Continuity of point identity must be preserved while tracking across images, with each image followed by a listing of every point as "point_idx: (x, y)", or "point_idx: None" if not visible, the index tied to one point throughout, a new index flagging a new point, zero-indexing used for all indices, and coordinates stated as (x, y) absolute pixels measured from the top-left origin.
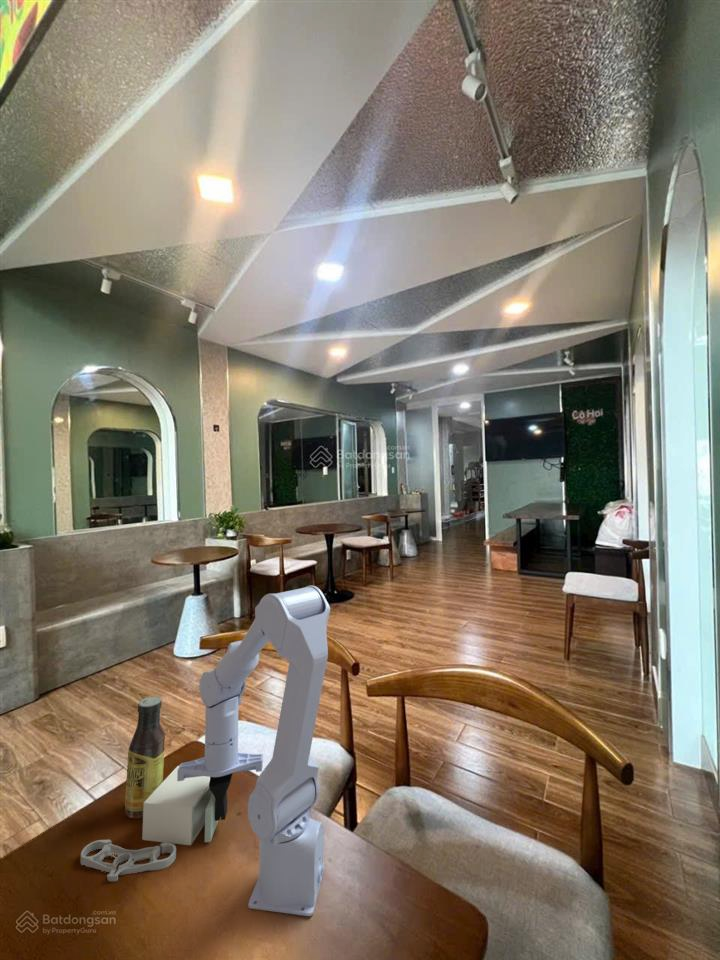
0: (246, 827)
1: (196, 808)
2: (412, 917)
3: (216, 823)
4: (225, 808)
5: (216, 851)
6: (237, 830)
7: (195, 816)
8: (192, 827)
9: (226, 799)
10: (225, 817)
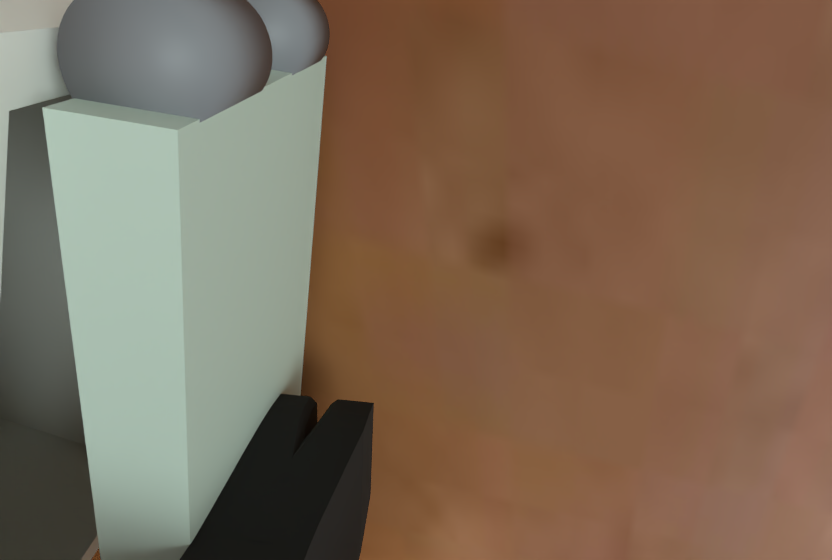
0: (565, 415)
1: (13, 126)
2: None
3: (295, 392)
4: (354, 534)
5: None
6: (488, 424)
7: (57, 240)
8: (92, 547)
9: (342, 506)
10: (370, 478)
